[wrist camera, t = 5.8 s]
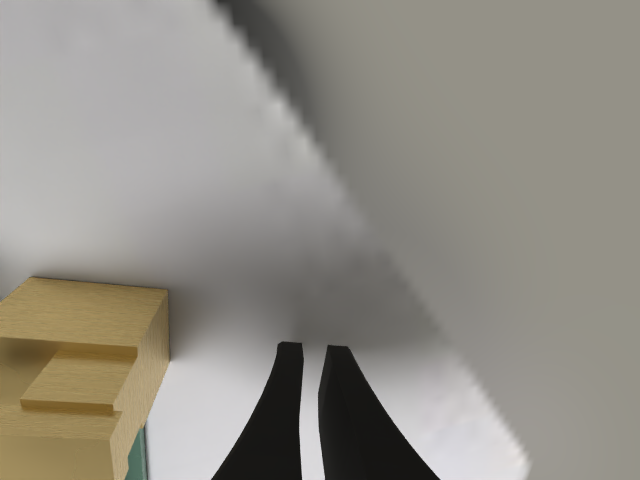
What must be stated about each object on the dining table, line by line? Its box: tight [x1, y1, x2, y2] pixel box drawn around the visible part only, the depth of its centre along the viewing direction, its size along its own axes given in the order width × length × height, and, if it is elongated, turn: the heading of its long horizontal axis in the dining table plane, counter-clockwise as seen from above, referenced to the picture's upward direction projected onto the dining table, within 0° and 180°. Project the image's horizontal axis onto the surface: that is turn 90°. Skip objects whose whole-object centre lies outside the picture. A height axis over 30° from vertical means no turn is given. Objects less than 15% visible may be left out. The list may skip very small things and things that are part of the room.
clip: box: [0, 277, 170, 480], centre depth 10 cm, size 3×5×5 cm, turn 81°
